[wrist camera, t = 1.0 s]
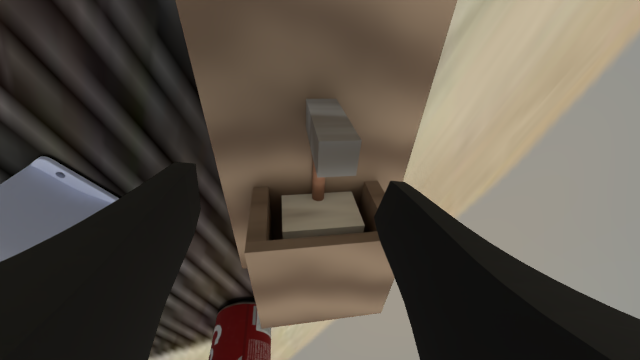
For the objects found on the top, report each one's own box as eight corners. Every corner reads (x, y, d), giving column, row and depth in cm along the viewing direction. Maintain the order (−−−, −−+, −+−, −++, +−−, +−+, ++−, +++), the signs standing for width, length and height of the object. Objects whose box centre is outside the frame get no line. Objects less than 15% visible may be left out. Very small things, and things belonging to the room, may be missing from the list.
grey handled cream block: (344, 237, 24) (360, 294, 20) (284, 242, 24) (286, 303, 19) (365, 98, 16) (402, 139, 11) (274, 99, 15) (273, 142, 11)
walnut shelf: (377, 247, 28) (403, 312, 22) (243, 260, 26) (233, 335, 20) (484, -132, 11) (697, -268, 6) (138, -181, 9) (-87, -477, 4)
